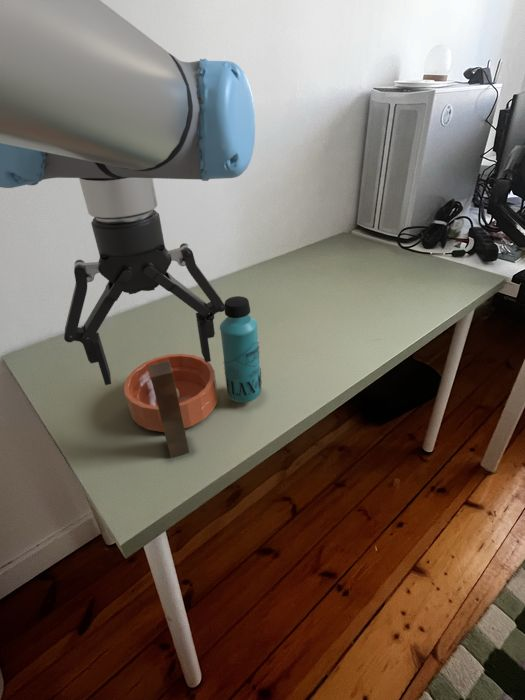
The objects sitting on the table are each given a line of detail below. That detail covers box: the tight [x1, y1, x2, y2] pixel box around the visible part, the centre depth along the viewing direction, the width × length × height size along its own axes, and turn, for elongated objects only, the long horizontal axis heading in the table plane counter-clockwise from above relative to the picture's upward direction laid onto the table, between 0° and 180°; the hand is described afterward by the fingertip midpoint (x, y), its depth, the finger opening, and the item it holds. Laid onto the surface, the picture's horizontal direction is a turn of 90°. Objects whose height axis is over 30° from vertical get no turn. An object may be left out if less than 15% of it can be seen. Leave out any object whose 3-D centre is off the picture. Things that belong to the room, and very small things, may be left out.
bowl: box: [123, 353, 219, 433], centre depth 77 cm, size 16×16×6 cm
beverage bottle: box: [219, 295, 263, 403], centre depth 74 cm, size 6×7×20 cm
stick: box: [148, 361, 190, 459], centre depth 65 cm, size 3×3×16 cm
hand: (158, 367), depth 60 cm, fingers open, 13 cm apart
